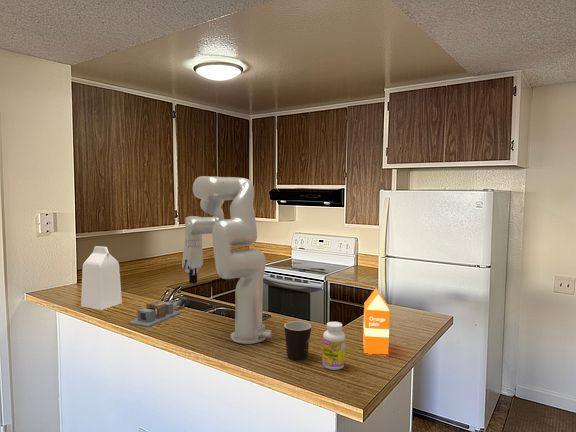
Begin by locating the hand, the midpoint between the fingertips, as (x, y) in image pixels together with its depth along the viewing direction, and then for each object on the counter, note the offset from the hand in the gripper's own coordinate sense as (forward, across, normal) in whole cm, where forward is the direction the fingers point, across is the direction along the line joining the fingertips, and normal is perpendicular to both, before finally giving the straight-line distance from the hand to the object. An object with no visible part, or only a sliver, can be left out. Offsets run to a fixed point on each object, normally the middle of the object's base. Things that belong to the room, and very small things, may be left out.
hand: (193, 283), depth 188 cm
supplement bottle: (+7, +37, +79) cm, 87 cm away
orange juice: (+7, +19, +88) cm, 90 cm away
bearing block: (+9, +25, +1) cm, 27 cm away
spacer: (+8, +25, +1) cm, 27 cm away
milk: (+10, +21, -33) cm, 41 cm away
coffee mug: (+8, +34, +67) cm, 75 cm away
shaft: (+8, +14, +1) cm, 16 cm away
